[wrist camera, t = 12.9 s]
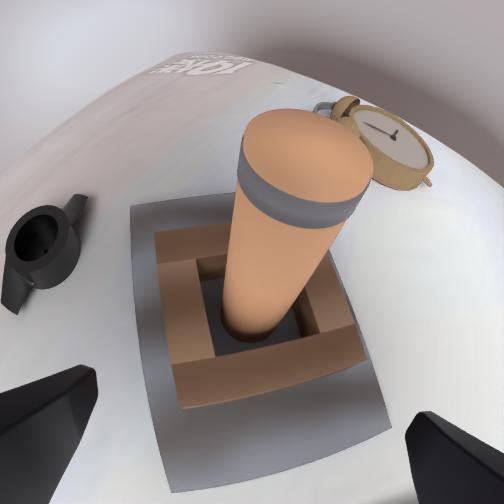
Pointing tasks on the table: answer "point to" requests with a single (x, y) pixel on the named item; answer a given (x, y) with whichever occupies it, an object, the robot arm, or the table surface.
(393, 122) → the alarm clock
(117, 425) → the table surface
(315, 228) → the terracotta pin
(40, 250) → the black hollow winged cylinder
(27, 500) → the robot arm
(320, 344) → the block
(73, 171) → the table surface
